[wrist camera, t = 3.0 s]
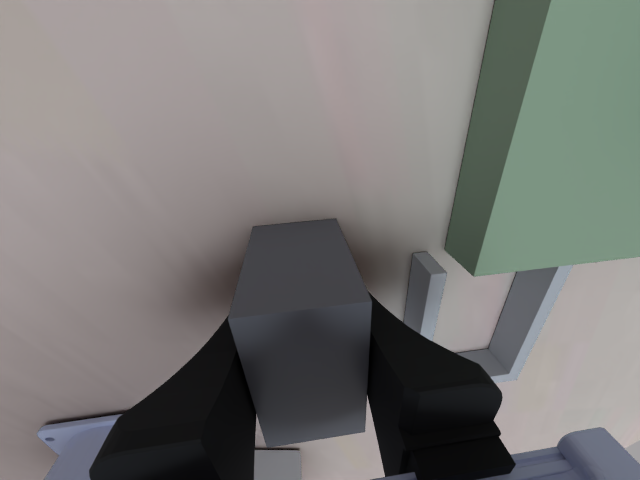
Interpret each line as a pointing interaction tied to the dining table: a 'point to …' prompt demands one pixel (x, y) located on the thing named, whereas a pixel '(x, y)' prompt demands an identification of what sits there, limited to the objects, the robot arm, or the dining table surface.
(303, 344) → the dark gray block
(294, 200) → the dining table surface
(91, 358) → the dining table surface
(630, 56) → the green panel
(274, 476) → the milk carton
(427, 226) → the dining table surface
